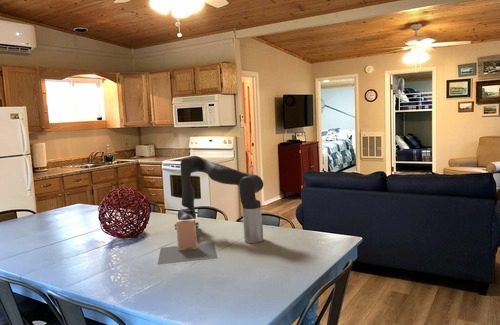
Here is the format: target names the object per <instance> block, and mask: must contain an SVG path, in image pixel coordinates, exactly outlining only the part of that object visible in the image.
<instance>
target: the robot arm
mask: <svg viewBox="0 0 500 325" xmlns="http://www.w3.org/2000/svg"><path fill="white" fill-rule="evenodd" d="M196 172H201V173H205V174H207V176H208V177H209V178H210V180H212V181H214V182H217V183H219V184H224V185H230V186H231V185H233V186H235V185H236V186H238V187H239V198H240V203H241V205H242V222H243V240H244V242H245V243H249V244H255V243H256V244H257V243H261V242H264V225H263V222H262V221H263V220H262V204H261V203H262V202H261V201H260V200H258V199H256V194H257V193H260V192H261V190H262V189H263V187H264V181H263V179H262V178H261V177H260V176H259V175H257V174H253V173H247V172H243V171H240V170H237V169H234V168H231V167H228V166H226V165H222V164H220V163H216V162H214V161H210V160H207V159H204V158H203V157H201V156H198V155H189V156H187V157H186V156H185V157H183V158H182V159H181V161H180V176H181V178H180V179H181V187H182V188H181V190H182V195H181V206H182V207H184V208H181V209H179V210H178V212H177V220H189V219H195V220H196V218H197V215H196V214H197V213H196V208H195V196H196V195H195V189H194V187H193V185H192V182H191V174H192V173H196ZM195 223H196V229H198V228H199V226H200V223H199V222H195ZM174 230H175V231H177V227H176V223H175V224H174Z"/></svg>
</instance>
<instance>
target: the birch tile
mask: <svg viewBox="0 0 500 325" xmlns="http://www.w3.org/2000/svg"><path fill="white" fill-rule="evenodd" d="M196 223H197V222H196V219H189V220H179V219H177V220H176V221H175V224H176V227H177V230H176V237H177V238H176V239H177V240H176V241H177V246H178V250H187V249H197V244H198V240H197V228H196Z"/></svg>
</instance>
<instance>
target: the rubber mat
mask: <svg viewBox="0 0 500 325" xmlns="http://www.w3.org/2000/svg"><path fill="white" fill-rule="evenodd" d="M157 259H158V261H157V263H156V264H157V265H158V266H160V265H163V267H164V266H167V265H166V264H173V265H175V266H176V264H177V263H178V264H179V263H183V264H186V263H188V262H192V264H193V263H195V262H196V261H202V263H203V262H204V261H205V260H207V261H208V260H211V261H213V262H214V260H215V259H218V254H217V250H216V245H215V242H207V243H197V249H187V250H178V245H175V246H164V247H160V251H159V255H158V258H157Z"/></svg>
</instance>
